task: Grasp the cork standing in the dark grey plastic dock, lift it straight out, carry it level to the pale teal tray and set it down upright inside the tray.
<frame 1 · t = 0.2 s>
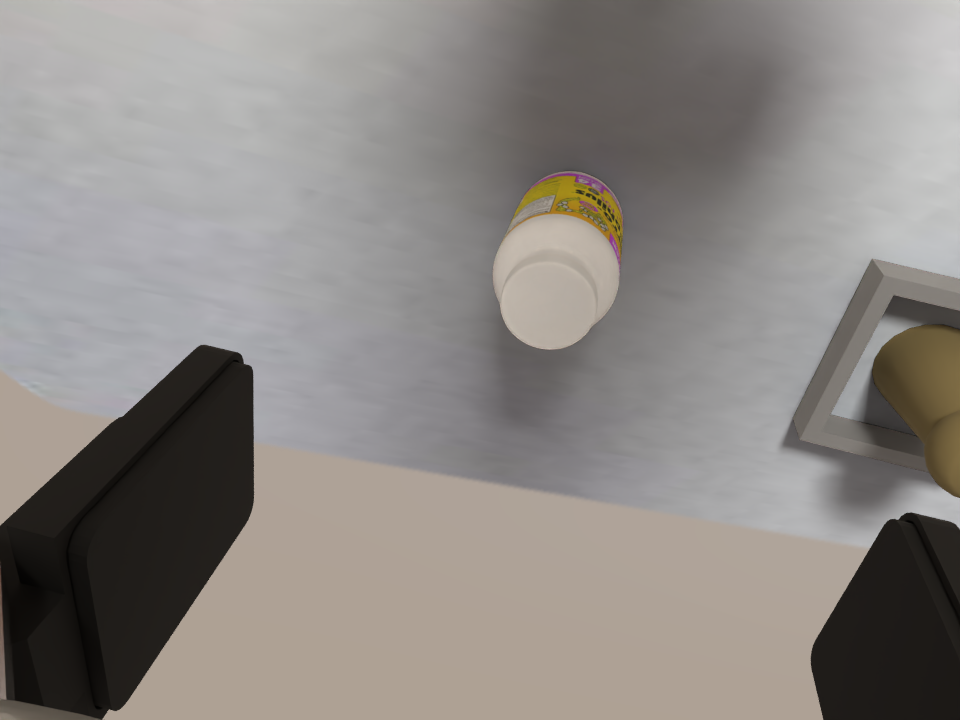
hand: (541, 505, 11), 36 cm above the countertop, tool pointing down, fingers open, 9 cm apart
dock: (924, 366, 47), on the countertop
cork: (923, 365, 47), on the countertop
supplement bottle: (570, 218, 47), on the countertop
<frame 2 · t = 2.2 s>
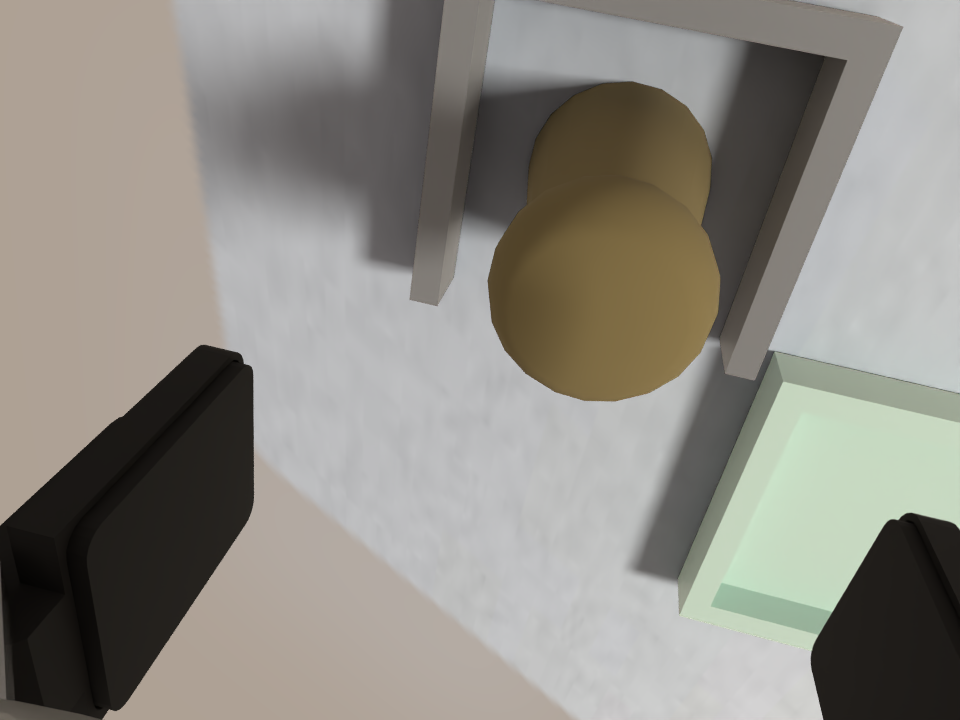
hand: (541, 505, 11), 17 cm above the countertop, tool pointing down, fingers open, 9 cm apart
dock: (618, 176, 25), on the countertop
cork: (618, 174, 25), on the countertop
tray: (872, 514, 29), on the countertop
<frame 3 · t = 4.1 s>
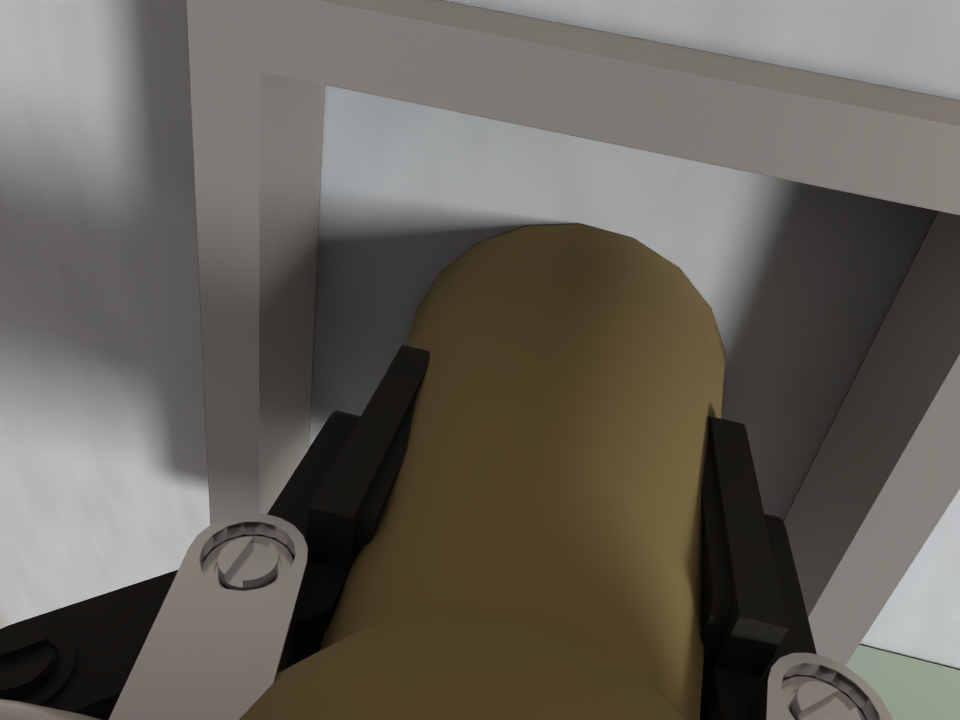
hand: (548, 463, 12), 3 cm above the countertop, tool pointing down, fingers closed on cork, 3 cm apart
dock: (563, 373, 14), on the countertop
cork: (562, 369, 14), on the countertop, touching gripper
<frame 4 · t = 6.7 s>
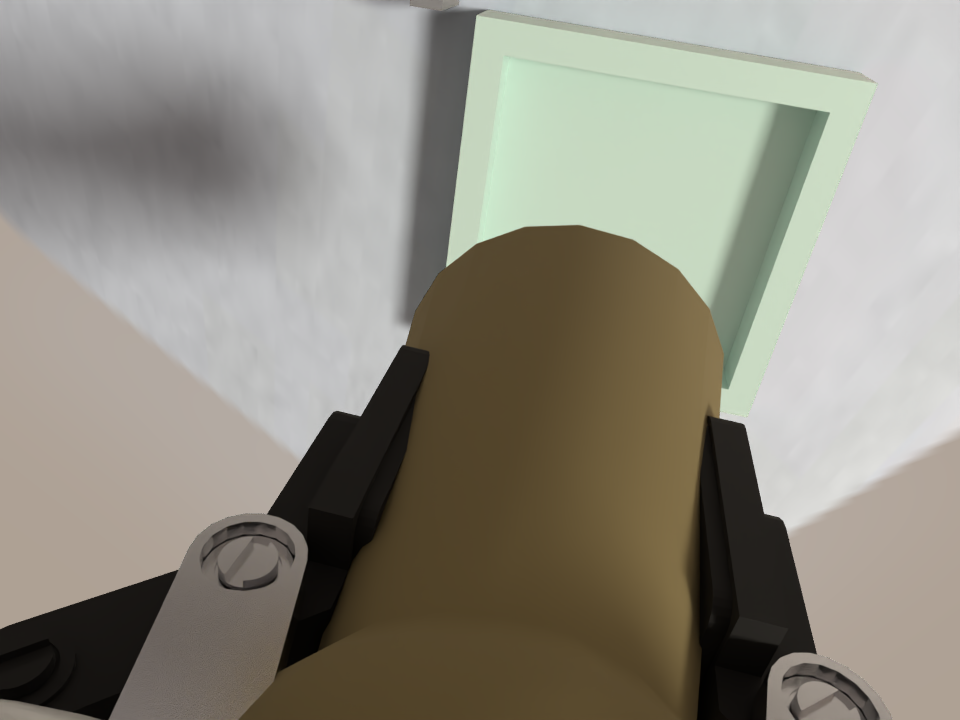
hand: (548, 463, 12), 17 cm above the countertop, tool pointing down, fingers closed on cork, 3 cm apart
cork: (560, 369, 14), point 14 cm above the countertop, touching gripper
tray: (626, 216, 27), on the countertop
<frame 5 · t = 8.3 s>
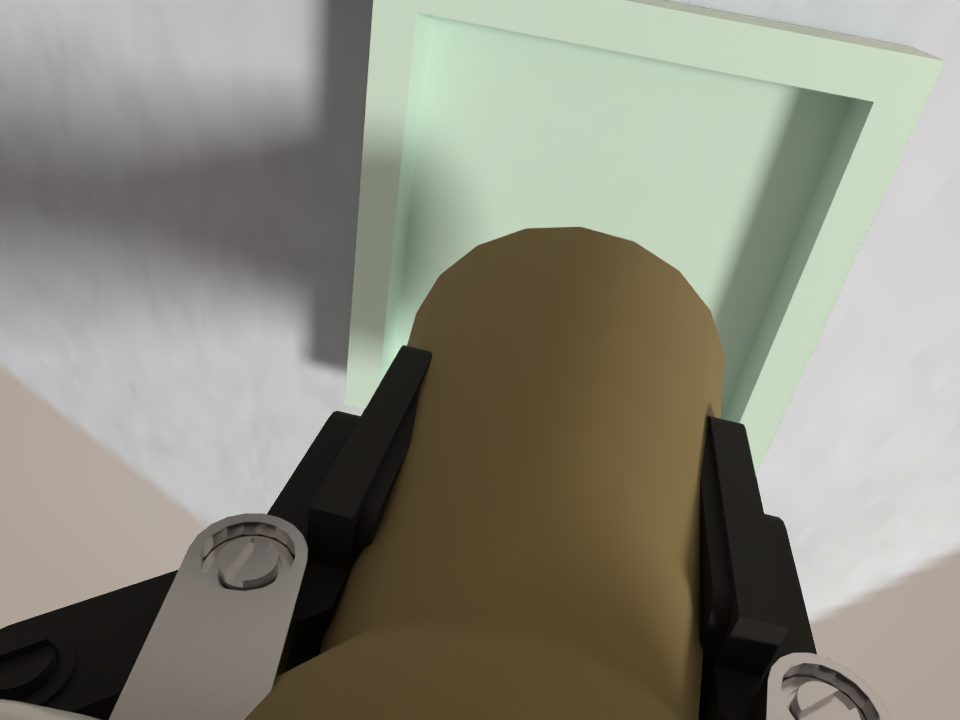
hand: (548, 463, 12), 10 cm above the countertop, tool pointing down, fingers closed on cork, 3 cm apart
cork: (561, 371, 14), point 7 cm above the countertop, touching gripper
tray: (591, 236, 20), on the countertop
when the fingers open (4 cm above the countertop, at t = 9.7 s): cork stays where it is, resting on tray.
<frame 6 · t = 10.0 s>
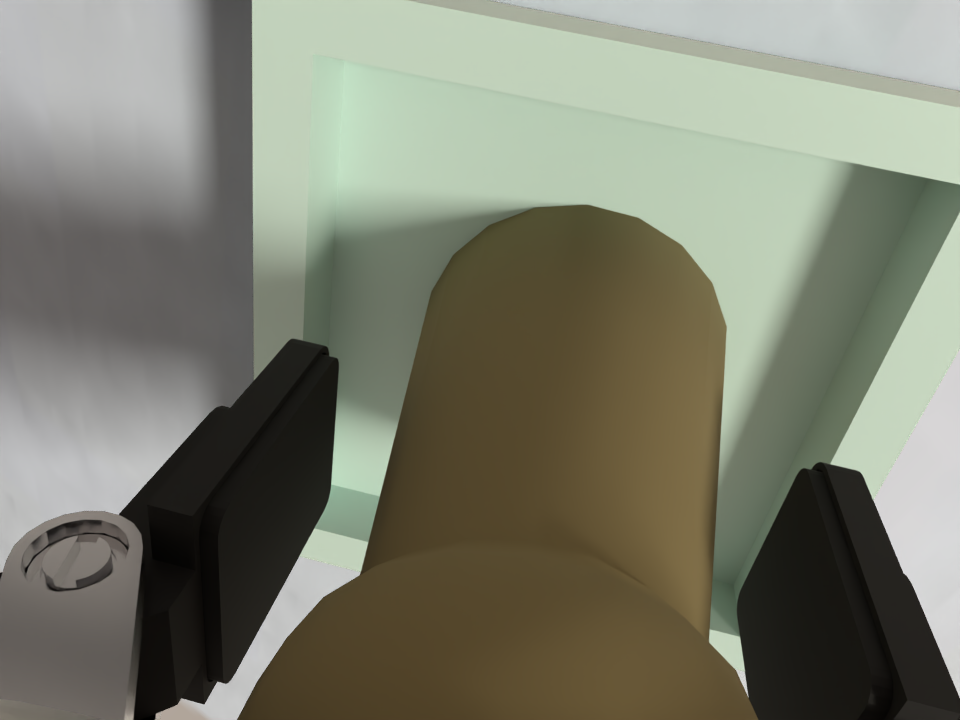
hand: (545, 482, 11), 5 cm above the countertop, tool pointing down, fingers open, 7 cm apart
cork: (570, 345, 15), resting on tray
tray: (570, 339, 16), on the countertop
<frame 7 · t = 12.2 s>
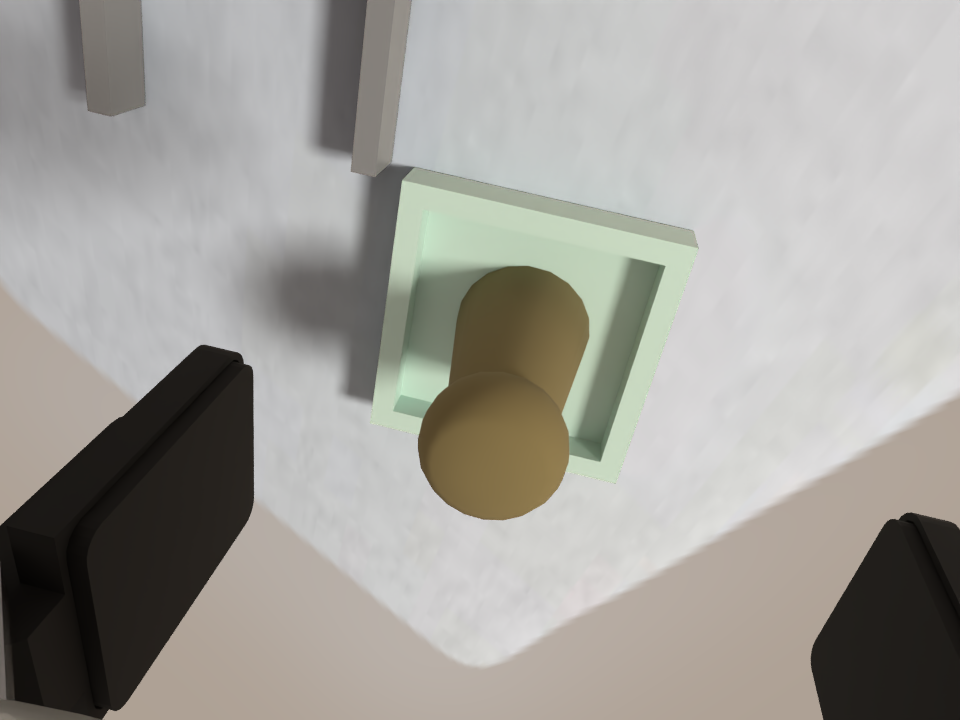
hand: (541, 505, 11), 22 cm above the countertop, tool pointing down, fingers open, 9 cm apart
dock: (260, 3, 29), on the countertop
cork: (522, 326, 34), resting on tray
tray: (522, 323, 34), on the countertop
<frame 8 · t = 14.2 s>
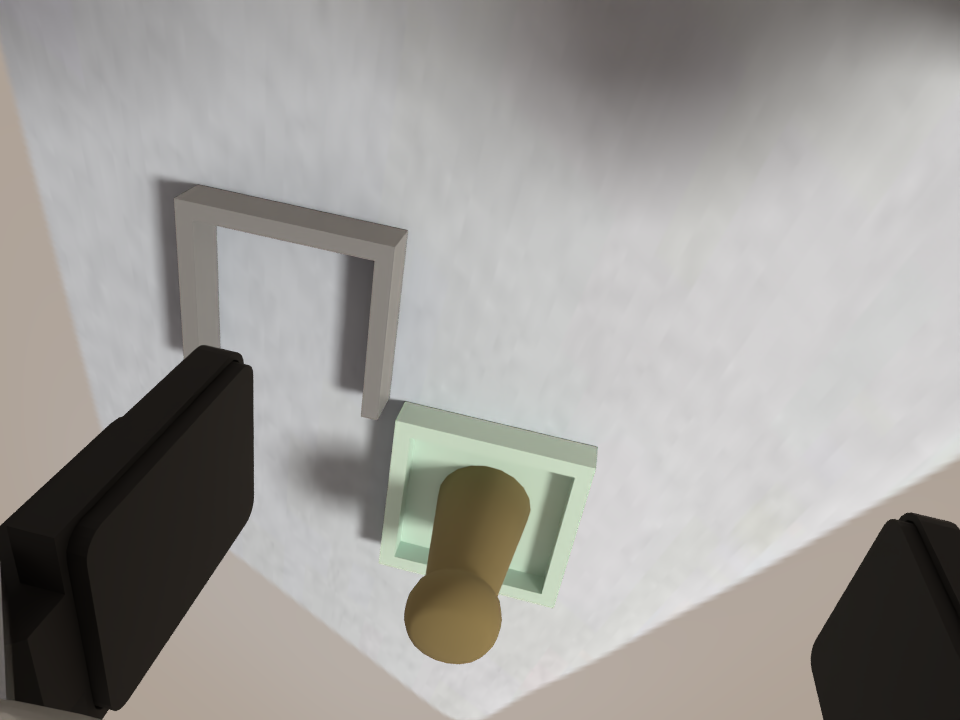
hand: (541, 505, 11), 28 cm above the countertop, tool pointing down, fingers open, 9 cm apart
dock: (298, 304, 44), on the countertop
cork: (484, 501, 48), resting on tray
tray: (484, 497, 48), on the countertop
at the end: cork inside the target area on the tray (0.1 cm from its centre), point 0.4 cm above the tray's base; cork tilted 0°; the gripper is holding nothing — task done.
